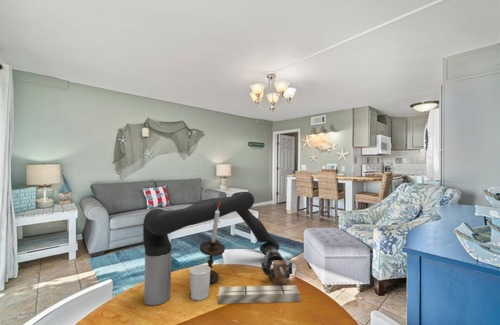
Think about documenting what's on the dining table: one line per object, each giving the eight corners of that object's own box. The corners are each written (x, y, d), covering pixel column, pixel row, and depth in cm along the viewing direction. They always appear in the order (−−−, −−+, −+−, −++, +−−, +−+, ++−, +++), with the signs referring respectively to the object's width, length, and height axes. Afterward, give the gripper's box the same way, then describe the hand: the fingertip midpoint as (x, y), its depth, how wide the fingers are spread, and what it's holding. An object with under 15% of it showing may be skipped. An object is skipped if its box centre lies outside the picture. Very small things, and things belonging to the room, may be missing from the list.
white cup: (206, 288, 92) (206, 263, 92) (213, 297, 85) (213, 270, 85) (186, 293, 88) (187, 267, 88) (192, 303, 81) (193, 275, 81)
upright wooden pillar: (276, 299, 83) (276, 269, 84) (272, 287, 92) (272, 260, 93) (289, 299, 84) (289, 269, 84) (284, 287, 93) (284, 260, 93)
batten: (218, 303, 81) (218, 295, 81) (219, 294, 87) (219, 286, 87) (300, 301, 82) (300, 293, 83) (296, 292, 88) (295, 284, 88)
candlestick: (222, 273, 104) (233, 200, 100) (216, 288, 93) (228, 207, 89) (200, 268, 105) (210, 196, 101) (192, 282, 94) (202, 202, 90)
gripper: (259, 251, 105) (263, 267, 88) (289, 251, 106) (298, 266, 89) (259, 268, 105) (263, 286, 88) (289, 267, 105) (299, 285, 88)
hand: (281, 276), depth 88 cm, fingers closed on upright wooden pillar, 5 cm apart
